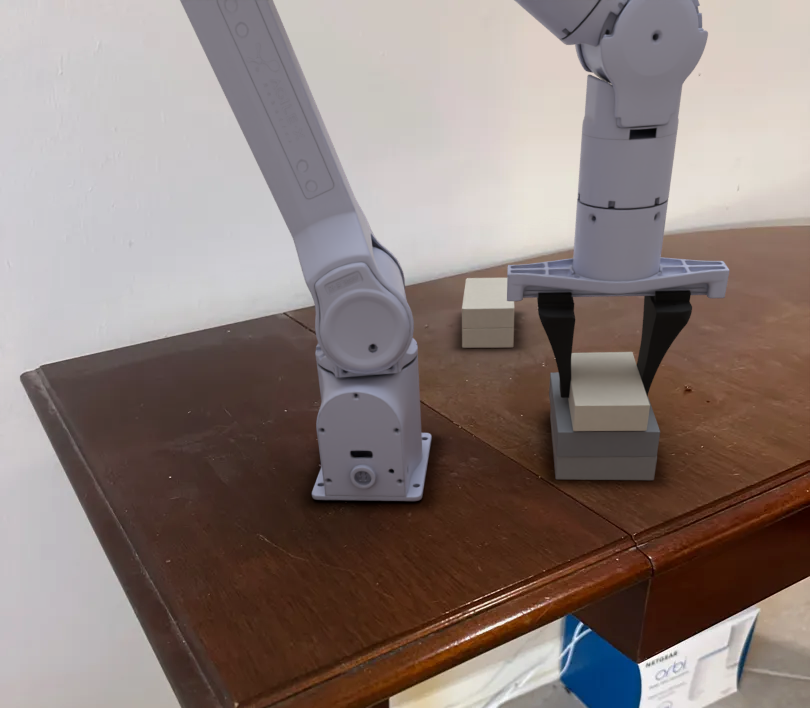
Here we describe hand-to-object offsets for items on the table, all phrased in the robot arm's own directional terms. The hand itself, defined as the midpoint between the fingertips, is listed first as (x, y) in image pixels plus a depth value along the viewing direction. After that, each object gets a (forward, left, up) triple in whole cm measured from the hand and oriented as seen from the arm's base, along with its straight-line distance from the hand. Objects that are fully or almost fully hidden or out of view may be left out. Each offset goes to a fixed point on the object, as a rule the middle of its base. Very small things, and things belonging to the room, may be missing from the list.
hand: (603, 392), depth 60 cm
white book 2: (+24, +9, -5) cm, 26 cm away
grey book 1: (0, 0, -3) cm, 3 cm away
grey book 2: (0, 0, -5) cm, 5 cm away
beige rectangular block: (-1, 0, 0) cm, 1 cm away
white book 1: (+24, +9, -3) cm, 26 cm away
